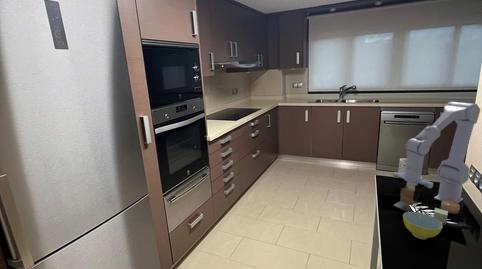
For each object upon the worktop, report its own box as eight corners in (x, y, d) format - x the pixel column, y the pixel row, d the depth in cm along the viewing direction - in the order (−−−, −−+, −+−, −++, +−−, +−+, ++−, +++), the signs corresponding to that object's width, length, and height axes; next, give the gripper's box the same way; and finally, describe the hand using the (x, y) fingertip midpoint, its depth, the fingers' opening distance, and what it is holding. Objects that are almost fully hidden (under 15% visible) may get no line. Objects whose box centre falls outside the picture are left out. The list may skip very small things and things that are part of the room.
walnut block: (405, 198, 114) (407, 185, 112) (416, 202, 110) (418, 189, 109) (399, 201, 111) (401, 188, 110) (411, 205, 108) (413, 192, 106)
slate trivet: (402, 200, 117) (402, 199, 117) (422, 208, 110) (422, 207, 110) (393, 205, 112) (393, 204, 112) (413, 213, 106) (413, 212, 106)
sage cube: (433, 216, 104) (435, 207, 103) (446, 220, 101) (448, 211, 100) (432, 221, 101) (434, 211, 100) (445, 224, 98) (447, 215, 97)
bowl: (434, 230, 95) (437, 215, 93) (443, 249, 84) (447, 232, 83) (398, 223, 99) (401, 208, 98) (403, 240, 89) (405, 224, 88)
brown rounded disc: (443, 205, 113) (445, 198, 112) (460, 211, 108) (462, 204, 108) (438, 209, 110) (439, 202, 109) (455, 215, 105) (457, 208, 104)
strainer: (413, 185, 132) (417, 157, 129) (411, 190, 127) (416, 161, 123) (397, 182, 136) (401, 155, 133) (395, 186, 131) (399, 158, 128)
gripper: (390, 164, 111) (386, 193, 114) (429, 175, 99) (424, 207, 102) (399, 161, 115) (394, 189, 118) (437, 171, 103) (431, 202, 106)
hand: (409, 197), depth 110 cm, fingers closed on walnut block, 4 cm apart
